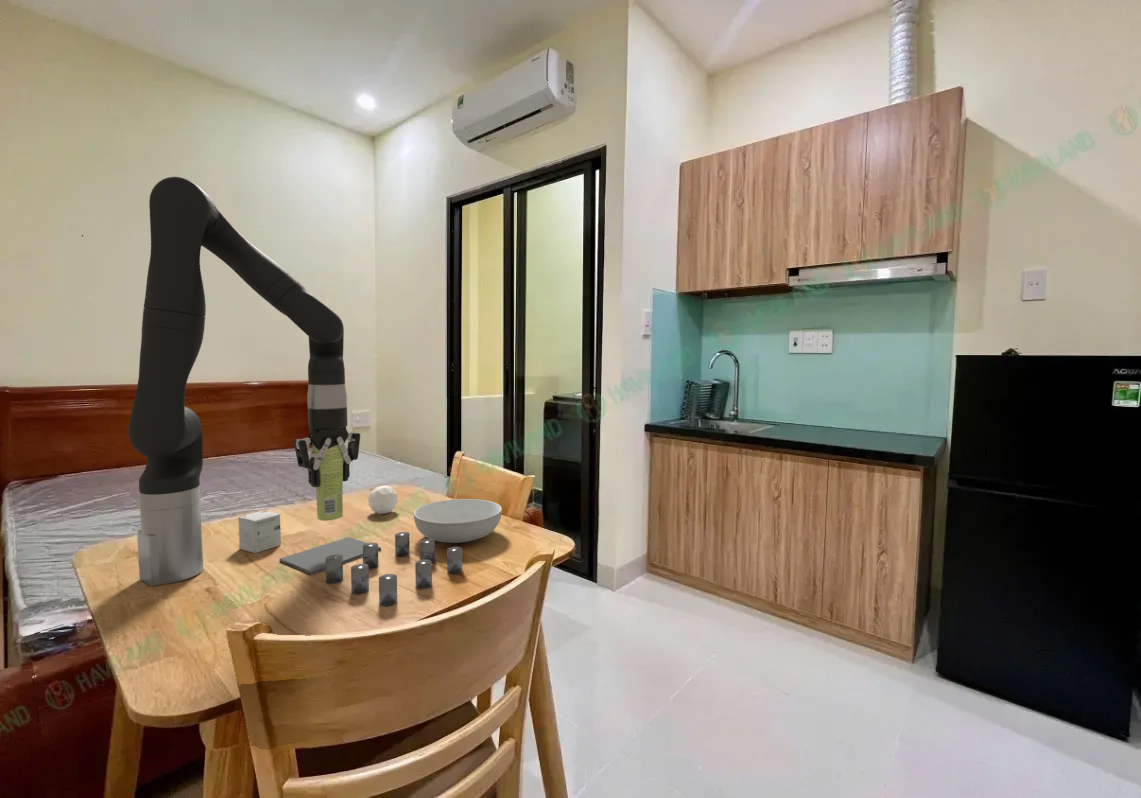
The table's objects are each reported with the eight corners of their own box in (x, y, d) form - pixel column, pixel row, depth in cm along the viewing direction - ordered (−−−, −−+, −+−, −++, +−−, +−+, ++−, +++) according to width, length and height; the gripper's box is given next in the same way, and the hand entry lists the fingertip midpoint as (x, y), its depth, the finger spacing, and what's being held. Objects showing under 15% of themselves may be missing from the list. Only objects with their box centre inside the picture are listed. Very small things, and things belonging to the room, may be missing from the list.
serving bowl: (517, 530, 128) (518, 503, 128) (467, 559, 109) (467, 528, 109) (451, 519, 137) (451, 493, 136) (394, 544, 118) (393, 515, 117)
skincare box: (255, 554, 111) (253, 521, 110) (238, 549, 114) (237, 516, 113) (281, 545, 116) (280, 513, 116) (265, 540, 119) (264, 509, 119)
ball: (377, 521, 142) (371, 495, 146) (405, 510, 143) (398, 485, 147) (367, 515, 135) (360, 488, 139) (396, 504, 137) (388, 477, 140)
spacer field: (386, 607, 87) (386, 582, 87) (322, 581, 98) (322, 558, 97) (465, 570, 103) (465, 548, 103) (403, 550, 114) (403, 531, 113)
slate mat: (312, 574, 100) (311, 571, 100) (279, 561, 107) (279, 558, 107) (381, 549, 114) (381, 547, 114) (348, 539, 120) (348, 536, 120)
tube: (323, 513, 112) (320, 426, 111) (347, 513, 113) (344, 426, 111) (313, 522, 107) (310, 430, 105) (338, 521, 107) (335, 429, 106)
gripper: (304, 409, 100) (307, 493, 101) (368, 404, 112) (370, 479, 113) (283, 407, 104) (286, 488, 105) (347, 402, 116) (349, 475, 117)
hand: (329, 483), depth 109 cm, fingers closed on tube, 6 cm apart
